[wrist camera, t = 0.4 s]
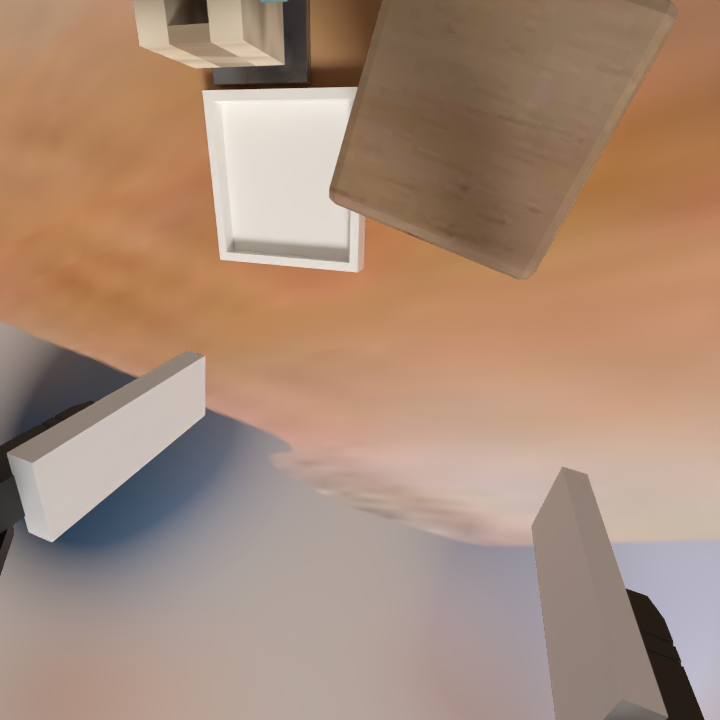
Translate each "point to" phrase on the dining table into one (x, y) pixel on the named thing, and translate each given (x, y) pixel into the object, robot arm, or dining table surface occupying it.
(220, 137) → the tray
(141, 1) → the collar
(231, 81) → the grey lever faucet
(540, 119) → the wooden block
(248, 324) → the dining table surface
